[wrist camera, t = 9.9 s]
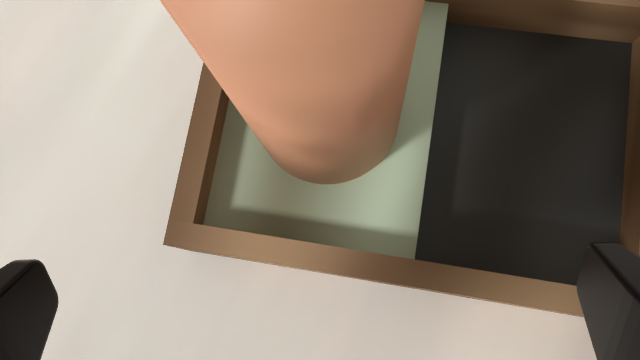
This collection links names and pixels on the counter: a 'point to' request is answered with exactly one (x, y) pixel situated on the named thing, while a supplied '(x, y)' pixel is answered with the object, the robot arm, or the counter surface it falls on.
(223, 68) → the smooth tapered peach-colored object
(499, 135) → the box
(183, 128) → the counter surface
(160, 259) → the counter surface
